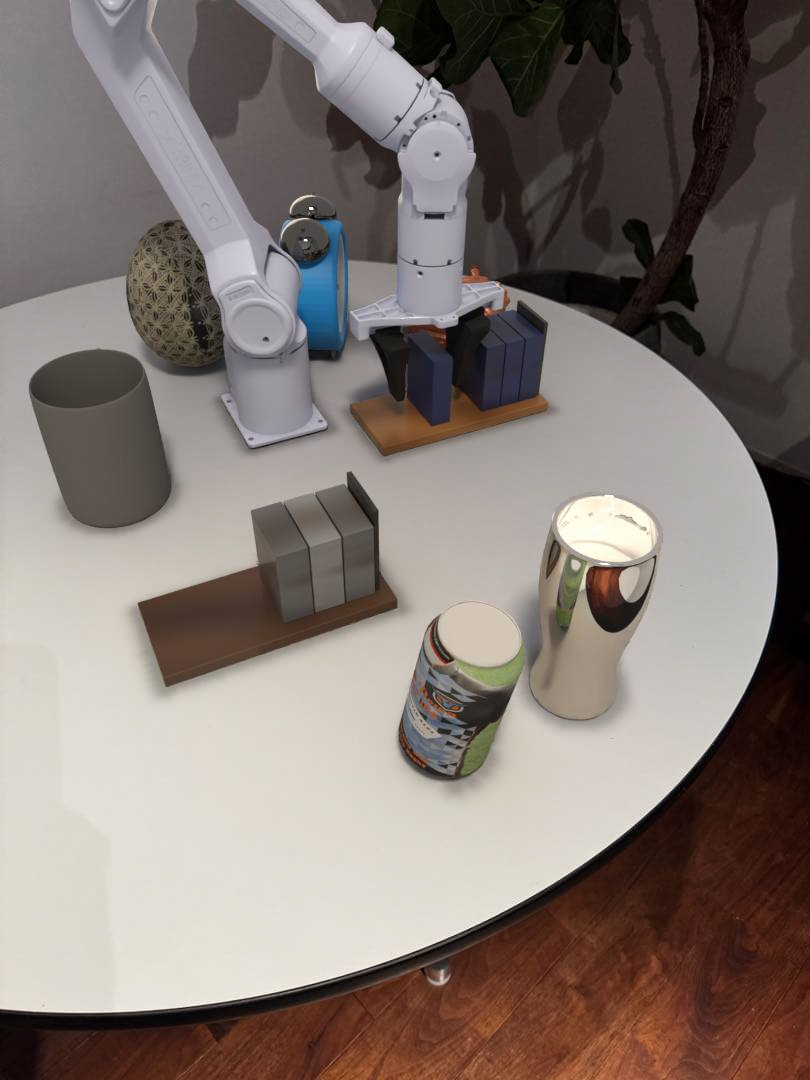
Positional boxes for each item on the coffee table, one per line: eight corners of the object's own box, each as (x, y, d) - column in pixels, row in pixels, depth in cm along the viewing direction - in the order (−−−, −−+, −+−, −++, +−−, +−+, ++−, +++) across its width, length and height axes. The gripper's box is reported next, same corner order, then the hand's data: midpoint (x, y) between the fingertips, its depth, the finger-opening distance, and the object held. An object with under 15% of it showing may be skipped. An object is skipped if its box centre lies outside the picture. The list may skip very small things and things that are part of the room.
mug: (173, 522, 74) (146, 403, 66) (61, 536, 73) (19, 416, 64) (171, 430, 84) (147, 317, 76) (72, 441, 82) (37, 327, 74)
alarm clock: (339, 375, 91) (333, 236, 81) (281, 373, 92) (267, 234, 81) (350, 314, 101) (345, 183, 91) (297, 313, 101) (286, 182, 91)
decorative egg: (265, 376, 91) (249, 236, 81) (152, 399, 88) (121, 256, 78) (237, 324, 99) (219, 192, 89) (132, 344, 96) (102, 208, 86)
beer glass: (560, 741, 58) (594, 583, 48) (504, 668, 63) (525, 509, 52) (642, 702, 60) (692, 544, 50) (583, 635, 65) (617, 477, 55)
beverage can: (394, 711, 60) (395, 589, 52) (500, 705, 60) (517, 583, 52) (402, 793, 55) (404, 673, 47) (517, 785, 56) (538, 665, 48)
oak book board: (350, 412, 86) (346, 330, 80) (506, 371, 92) (514, 292, 86) (383, 456, 81) (382, 372, 75) (547, 410, 87) (559, 329, 81)
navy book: (406, 397, 87) (407, 334, 82) (424, 393, 87) (426, 330, 83) (431, 426, 83) (433, 362, 78) (450, 421, 84) (453, 357, 79)
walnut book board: (139, 611, 66) (114, 522, 60) (356, 543, 72) (353, 456, 66) (165, 687, 61) (140, 598, 55) (397, 607, 67) (398, 519, 61)
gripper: (372, 288, 69) (373, 428, 79) (527, 256, 74) (512, 392, 83) (338, 253, 74) (343, 389, 83) (486, 225, 79) (476, 357, 88)
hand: (425, 388), depth 84 cm, fingers open, 6 cm apart
